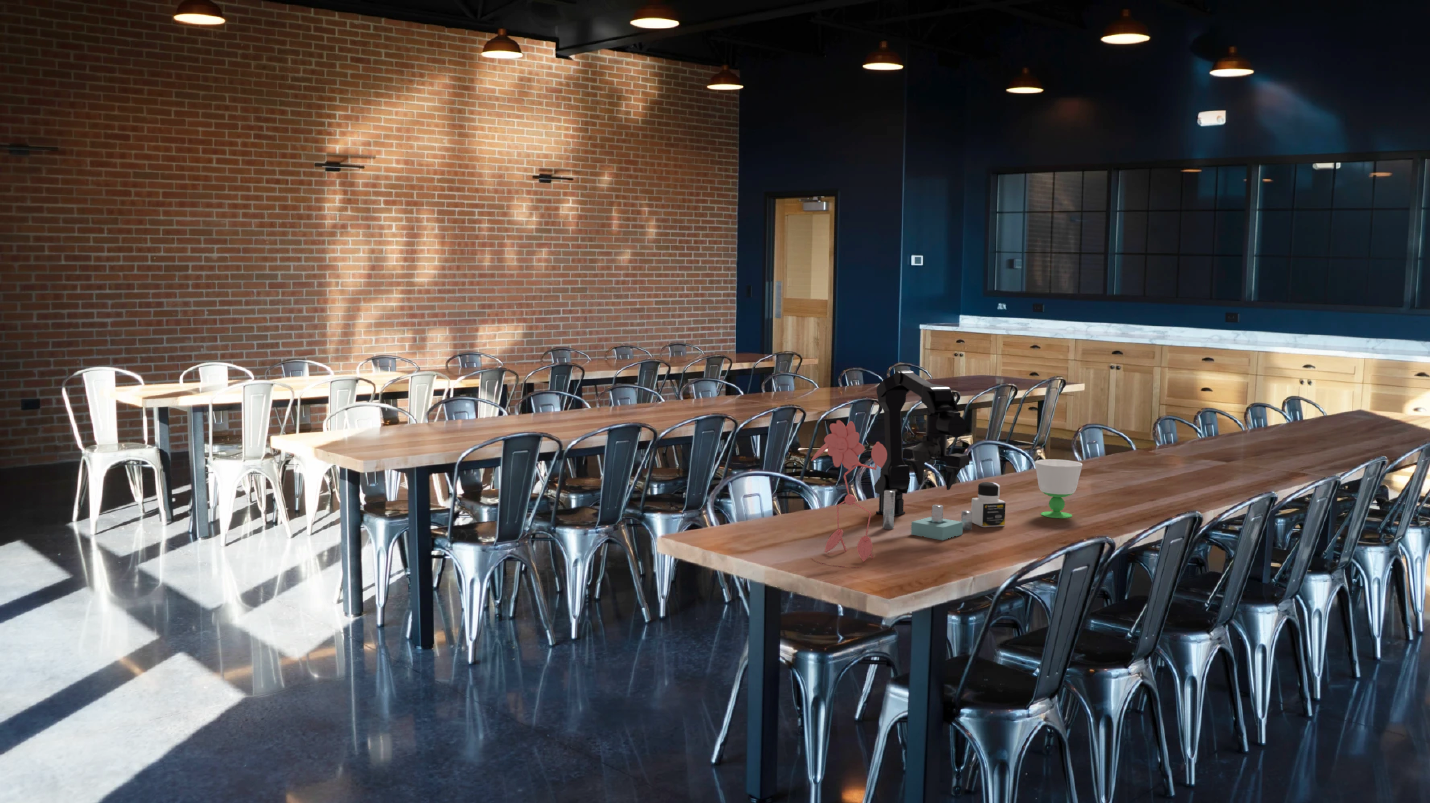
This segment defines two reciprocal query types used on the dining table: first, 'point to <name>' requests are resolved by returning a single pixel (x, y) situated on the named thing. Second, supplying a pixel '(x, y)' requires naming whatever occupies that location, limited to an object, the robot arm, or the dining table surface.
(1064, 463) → the cup
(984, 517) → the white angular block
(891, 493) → the pin long
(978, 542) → the dining table surface
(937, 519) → the pin medium
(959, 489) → the dining table surface
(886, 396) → the robot arm
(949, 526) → the socket block
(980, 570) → the dining table surface
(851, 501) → the figurine
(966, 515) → the pin short
